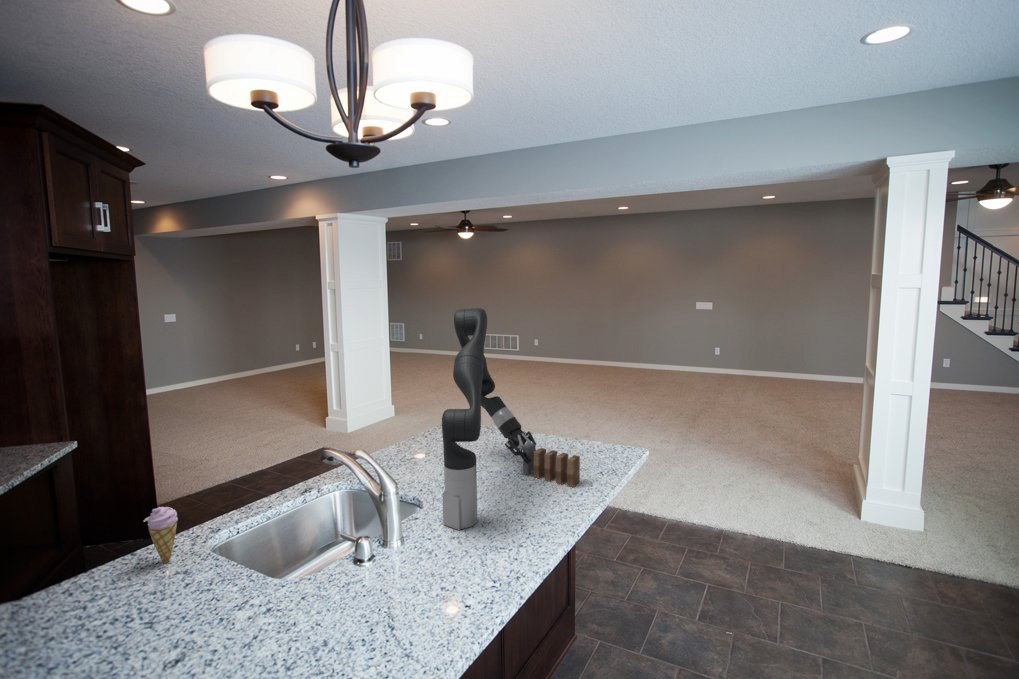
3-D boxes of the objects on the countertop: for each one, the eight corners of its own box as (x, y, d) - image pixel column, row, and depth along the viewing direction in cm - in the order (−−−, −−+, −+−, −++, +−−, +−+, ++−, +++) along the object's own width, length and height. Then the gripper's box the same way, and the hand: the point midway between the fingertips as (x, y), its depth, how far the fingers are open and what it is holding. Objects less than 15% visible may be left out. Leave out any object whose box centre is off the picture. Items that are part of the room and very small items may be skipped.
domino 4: (560, 484, 174) (560, 457, 173) (555, 483, 175) (555, 456, 174) (568, 480, 178) (568, 453, 177) (563, 478, 179) (563, 452, 178)
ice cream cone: (144, 570, 125) (138, 512, 123) (154, 557, 131) (149, 501, 129) (175, 566, 126) (170, 508, 125) (184, 553, 132) (179, 498, 131)
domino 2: (538, 479, 179) (538, 452, 178) (533, 477, 181) (533, 451, 179) (546, 474, 183) (546, 448, 182) (541, 473, 185) (541, 447, 183)
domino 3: (549, 481, 177) (549, 455, 176) (544, 480, 178) (544, 454, 177) (557, 477, 181) (557, 451, 180) (552, 476, 182) (552, 450, 181)
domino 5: (572, 487, 171) (572, 460, 170) (567, 486, 173) (567, 459, 172) (579, 483, 175) (579, 456, 174) (574, 481, 177) (574, 455, 176)
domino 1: (527, 473, 182) (527, 447, 181) (523, 472, 183) (523, 446, 182) (535, 469, 186) (535, 444, 185) (530, 468, 187) (530, 443, 186)
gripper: (500, 420, 181) (528, 460, 175) (523, 412, 192) (550, 449, 187) (488, 433, 185) (516, 472, 179) (511, 423, 196) (538, 460, 190)
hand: (533, 460), depth 183 cm, fingers closed on domino 1, 5 cm apart
